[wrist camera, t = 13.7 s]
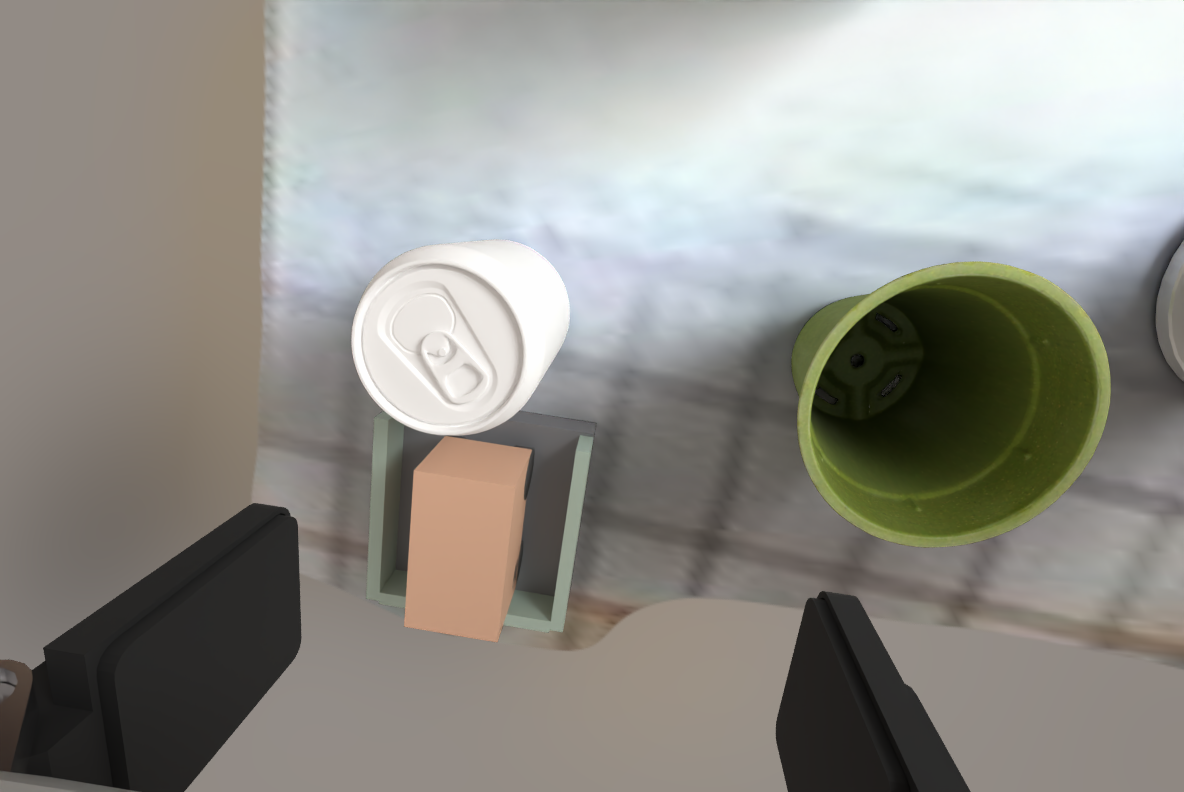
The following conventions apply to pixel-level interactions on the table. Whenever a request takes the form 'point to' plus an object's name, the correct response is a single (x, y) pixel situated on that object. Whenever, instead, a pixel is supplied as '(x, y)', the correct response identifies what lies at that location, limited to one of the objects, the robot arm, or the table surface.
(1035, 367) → the plant pot
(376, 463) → the dock
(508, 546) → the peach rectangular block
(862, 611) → the robot arm
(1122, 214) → the table surface
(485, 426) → the beverage can
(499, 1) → the table surface
